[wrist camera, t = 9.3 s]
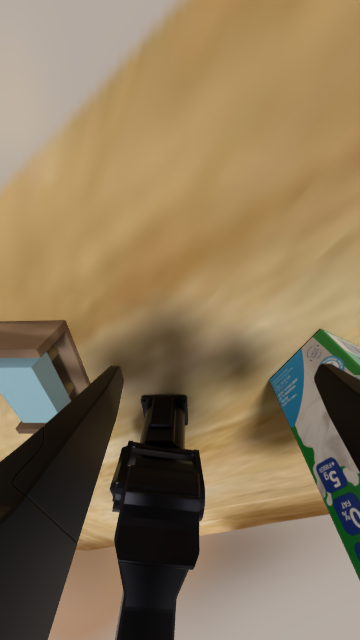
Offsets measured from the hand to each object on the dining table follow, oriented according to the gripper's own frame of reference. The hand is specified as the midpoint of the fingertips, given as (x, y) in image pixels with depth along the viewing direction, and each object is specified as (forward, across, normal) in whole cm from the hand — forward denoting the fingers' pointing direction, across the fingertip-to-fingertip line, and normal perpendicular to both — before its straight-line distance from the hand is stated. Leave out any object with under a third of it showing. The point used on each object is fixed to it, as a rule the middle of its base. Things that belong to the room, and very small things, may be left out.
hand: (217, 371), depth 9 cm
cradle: (+12, +19, +11) cm, 25 cm away
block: (+9, +19, +11) cm, 24 cm away
